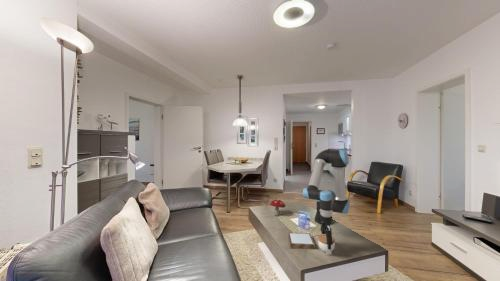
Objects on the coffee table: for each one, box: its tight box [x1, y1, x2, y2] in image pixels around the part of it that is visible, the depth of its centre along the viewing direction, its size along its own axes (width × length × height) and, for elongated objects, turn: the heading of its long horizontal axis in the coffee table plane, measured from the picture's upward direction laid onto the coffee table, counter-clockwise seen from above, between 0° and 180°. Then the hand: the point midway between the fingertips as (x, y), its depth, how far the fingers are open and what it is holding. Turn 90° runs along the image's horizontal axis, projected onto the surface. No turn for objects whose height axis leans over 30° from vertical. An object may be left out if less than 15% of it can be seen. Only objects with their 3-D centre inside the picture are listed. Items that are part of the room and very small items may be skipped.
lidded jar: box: [317, 234, 336, 254], centre depth 130 cm, size 11×11×9 cm
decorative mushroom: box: [268, 198, 286, 217], centre depth 191 cm, size 16×16×15 cm
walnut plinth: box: [287, 232, 316, 250], centre depth 140 cm, size 16×16×3 cm
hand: (326, 248), depth 130 cm, fingers closed on lidded jar, 11 cm apart
